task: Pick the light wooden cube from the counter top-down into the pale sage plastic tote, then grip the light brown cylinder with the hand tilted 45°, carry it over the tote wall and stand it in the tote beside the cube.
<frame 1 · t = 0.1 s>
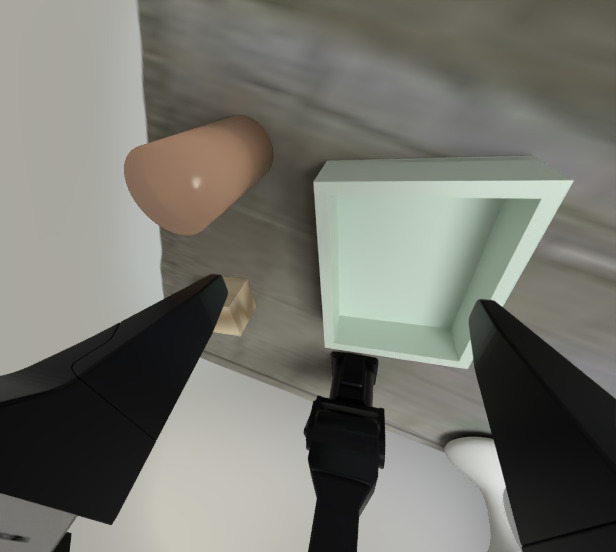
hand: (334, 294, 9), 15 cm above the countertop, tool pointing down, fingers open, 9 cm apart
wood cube: (235, 291, 33), on the countertop
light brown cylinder: (244, 150, 21), on the countertop
flower in vase: (484, 444, 43), on the countertop
tote: (402, 258, 24), on the countertop
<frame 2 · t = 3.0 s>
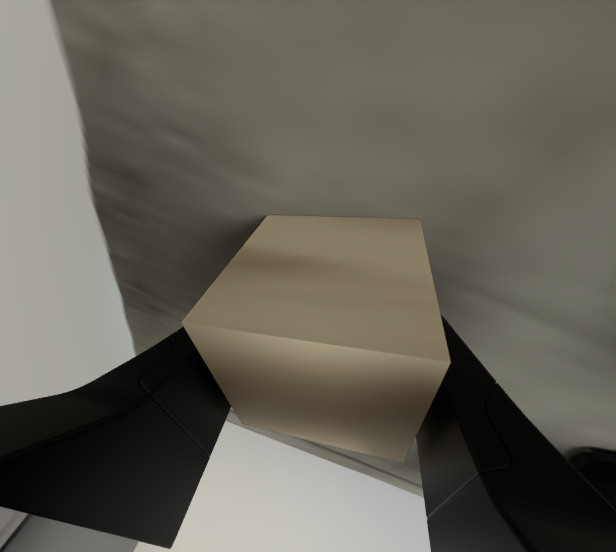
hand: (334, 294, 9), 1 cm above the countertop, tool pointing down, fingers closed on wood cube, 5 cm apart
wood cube: (339, 275, 10), on the countertop, touching gripper
when the fingers open (4 cm above the countertop, at t = 7.6 s): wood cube drops 2 cm, resting on tote.
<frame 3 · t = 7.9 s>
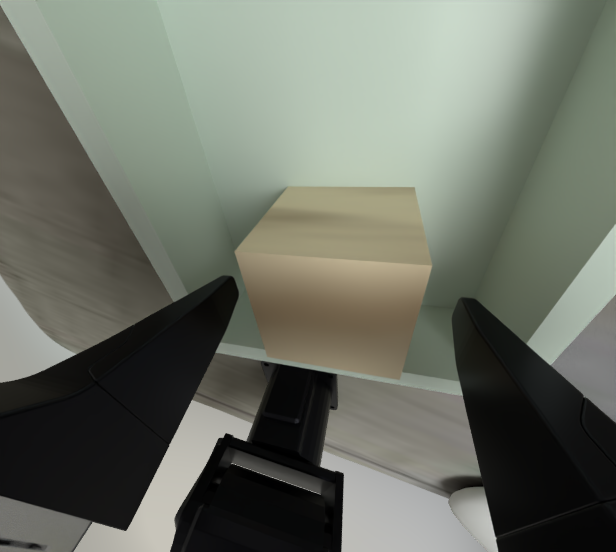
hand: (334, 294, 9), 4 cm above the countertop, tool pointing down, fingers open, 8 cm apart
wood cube: (346, 240, 12), point 1 cm above the countertop, touching tote
flower in vase: (508, 494, 29), on the countertop
tote: (351, 127, 10), on the countertop
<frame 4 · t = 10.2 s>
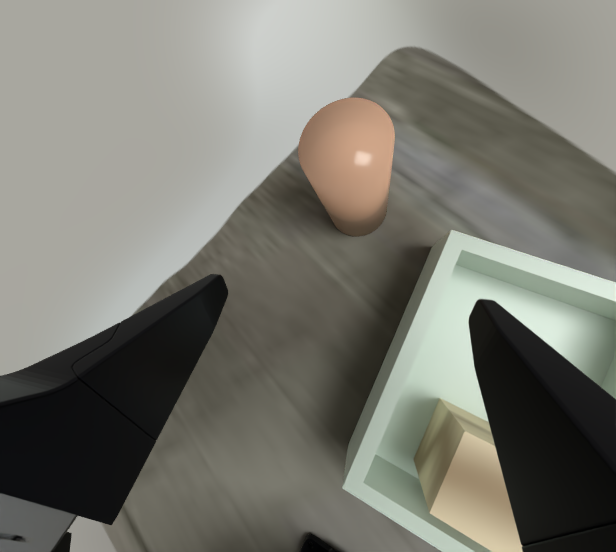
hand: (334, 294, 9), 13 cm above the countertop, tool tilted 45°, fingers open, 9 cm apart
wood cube: (461, 446, 18), point 1 cm above the countertop, touching tote
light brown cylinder: (357, 209, 23), on the countertop
tote: (479, 386, 19), on the countertop
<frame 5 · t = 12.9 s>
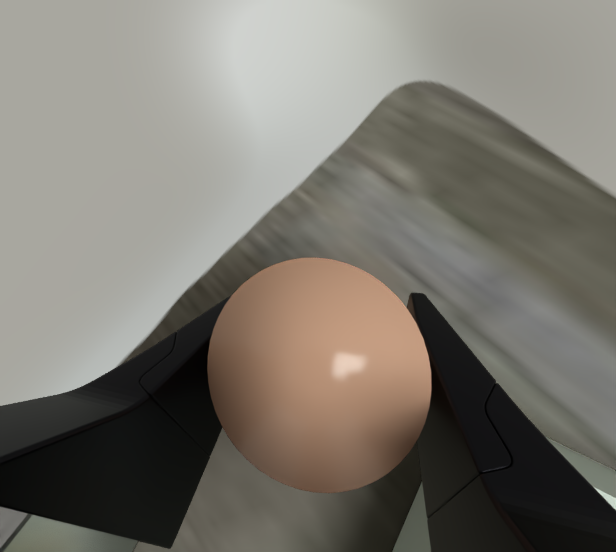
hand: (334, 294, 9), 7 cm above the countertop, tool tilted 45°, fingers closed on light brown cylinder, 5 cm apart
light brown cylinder: (345, 322, 15), on the countertop, touching gripper
when the fingers open (9 cm above the countertop, at t = 17.1 s): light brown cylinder drops 1 cm, resting on tote.
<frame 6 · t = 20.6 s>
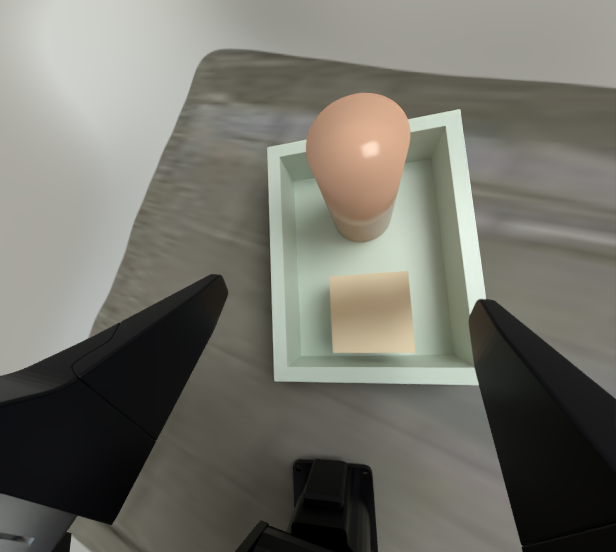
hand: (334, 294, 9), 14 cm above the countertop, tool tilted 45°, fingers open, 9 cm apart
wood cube: (369, 310, 21), point 1 cm above the countertop, touching tote
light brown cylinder: (361, 214, 22), point 1 cm above the countertop, touching tote
tote: (365, 260, 22), on the countertop
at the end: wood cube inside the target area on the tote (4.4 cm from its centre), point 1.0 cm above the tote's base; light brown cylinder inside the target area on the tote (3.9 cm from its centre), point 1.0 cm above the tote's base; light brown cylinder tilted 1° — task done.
